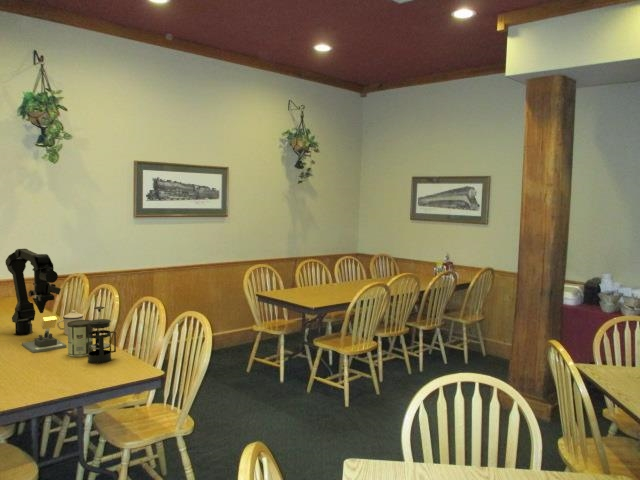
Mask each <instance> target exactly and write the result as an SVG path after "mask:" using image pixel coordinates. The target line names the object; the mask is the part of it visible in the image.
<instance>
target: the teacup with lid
mask: <svg viewBox="0 0 640 480" xmlns="http://www.w3.org/2000/svg"><path fill="white" fill-rule="evenodd" d="M75 320H84V315H83V314H82V313H79V312H77V311H76V310H74V309H72V310H71V311H70V312H68V313H67V314H65V315H63V319H61V320H59V321H57V322H56V326H57V328H58V329H59V331H61V330H62V331H63V333H64V335H66V336H68V325H67V323H68V322H71V321H75ZM61 322H62V323H63V328H62V327H60V323H61Z"/></svg>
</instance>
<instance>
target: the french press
mask: <svg viewBox="0 0 640 480" xmlns="http://www.w3.org/2000/svg"><path fill="white" fill-rule="evenodd" d="M102 309H103V310H104V309H105V307H104V306H95V307H94V310H97V311H98V318H97V319H91V321H88V324H90V325H91V326H92V327H93V329H98V330H93V331H92V332H89V333H88V355H87V363H89V364H95V365H96V364H97V365H99V364H105V363H106V364H107V363H108V362H111V361H112V353H113V354H114V353H116V352H117V350H116V349H117V346H116V345H117V343H116V342H117V340H116V339H117V337H116V336H117V334H116V331H115V330H114V331H113V330H112V331H111V330H105V329H106V328H108V327H110V323H111V321H112V320H111V319H107V318H101V311H102ZM92 334H93V335H92ZM112 334H113V336H114V337H113V340H114V341H113V343H114V344H113V346H114V347H113V348H114V349H113V350H112ZM89 338H93V339H95V343H93V344H92V345H90V346H89ZM105 338H109V343H108V342H105V341H104V340H105ZM89 348H90V349H93V351H92V352H89ZM108 348H109V349H108ZM107 349H108V350H107Z"/></svg>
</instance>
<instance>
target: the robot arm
mask: <svg viewBox="0 0 640 480" xmlns="http://www.w3.org/2000/svg"><path fill="white" fill-rule="evenodd" d="M27 262H30V265H31V266H32V267H33V268H32V271H33V276H34V277H33V279H34V280H33V282H32V285H33V286H34V287H33V289H32V290H31V289H30V290H29V292H28V290H27V286H26V285H27V284H26V281H25V275H24V272H25V269H26V268H27ZM5 266H6V268H7V271H8V272H9V273H10V274H12V275H11V276H12V280H13V285H14V290H15V297H16V301H17V304H16V305H15V307H14V313H13V314H12V317H11V322H12V323H14V324H15V332H14V333H13V335H15V336H16V335H17V336H19V335H24V336H25V335H26V336H27V335H28V336H29V334H31V333H33V332H34V331H33V323H32V321H35V318H36V309H35V306H36V307H37V310H38V311H39V313H40V314H43V313H44V311H45V307H46V304H47V302H48V301H55V295H54V294H56V295H57V296H59V295H60V293H61V291H62V288H61V287H57V286H56V284H54V283H55V282H56V281H58V278H59V275H58V273H57V272H56V271H54V263H53V262H52V259H51V257H50V256H49V255H48V253H36V252H33V250H29V249H28V248H17V249H15V251H14V252H12V253H11V254H9V255H8V256H7V257H6V259H5ZM33 296H34V298H32V300H33V302H34V303H33V302H31V301H29V297H30V298H31V297H33ZM34 304H35V306H34Z"/></svg>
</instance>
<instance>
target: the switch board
mask: <svg viewBox="0 0 640 480" xmlns="http://www.w3.org/2000/svg"><path fill="white" fill-rule="evenodd" d="M21 346H22V347H23V348H25V349H27V350H28V351H29V352H31V353H33V354H35V353H43V352H47V351H52V350H59V349H60V350H61V349H66V348H67V344H66V343H64V342H62V341H60V340H58V339H57V338H56V337H54V336H53V333H50V332H49V334H48V337H47V338H45V337H44V336H43V335H42V334H38V337H34V341H25V342H21Z"/></svg>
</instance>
